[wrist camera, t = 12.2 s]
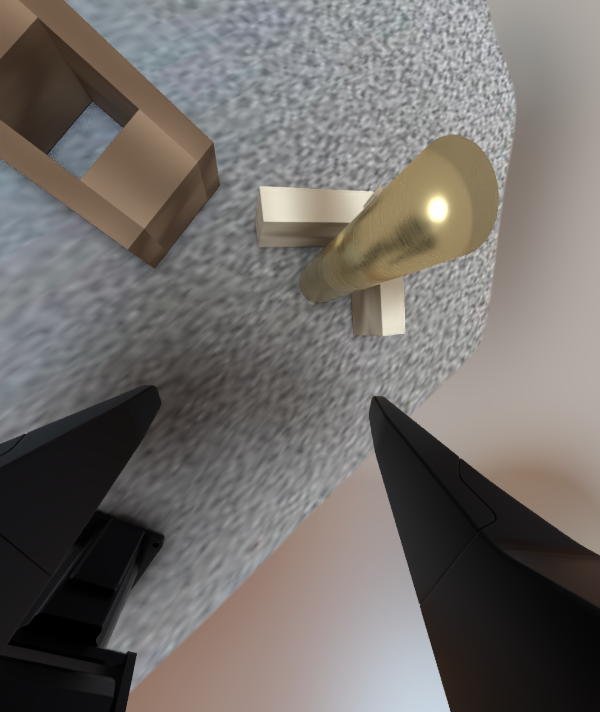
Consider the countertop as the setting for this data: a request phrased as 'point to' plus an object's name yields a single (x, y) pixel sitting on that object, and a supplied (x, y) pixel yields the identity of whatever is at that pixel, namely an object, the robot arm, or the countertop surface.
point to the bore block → (121, 102)
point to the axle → (411, 222)
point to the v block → (318, 228)
